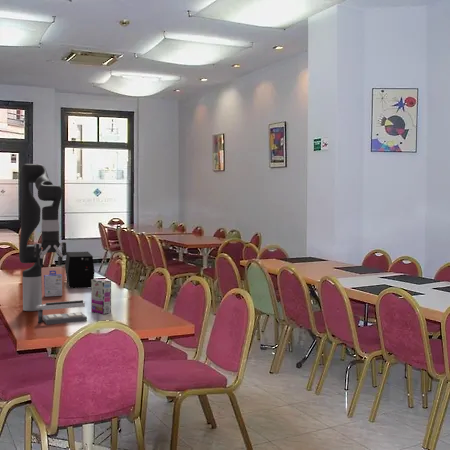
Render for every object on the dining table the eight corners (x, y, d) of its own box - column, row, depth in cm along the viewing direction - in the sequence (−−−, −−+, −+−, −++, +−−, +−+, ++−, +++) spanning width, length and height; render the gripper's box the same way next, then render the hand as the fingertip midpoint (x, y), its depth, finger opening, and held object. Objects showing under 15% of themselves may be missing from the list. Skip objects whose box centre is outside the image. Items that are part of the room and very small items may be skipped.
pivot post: (37, 322, 274) (37, 310, 274) (42, 321, 275) (42, 309, 275) (38, 323, 272) (38, 310, 272) (43, 322, 273) (42, 310, 273)
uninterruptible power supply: (89, 280, 408) (89, 251, 407) (94, 287, 376) (94, 256, 375) (65, 281, 403) (64, 252, 402) (68, 289, 371) (67, 257, 370)
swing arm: (37, 310, 271) (37, 304, 271) (36, 309, 274) (36, 303, 274) (84, 306, 281) (84, 300, 281) (83, 305, 284) (83, 299, 283)
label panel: (42, 319, 280) (42, 313, 280) (81, 316, 288) (81, 310, 288) (47, 324, 269) (47, 318, 269) (86, 321, 277) (86, 315, 277)
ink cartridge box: (61, 294, 351) (61, 269, 350) (62, 295, 346) (62, 271, 345) (43, 295, 347) (43, 270, 346) (45, 296, 342) (44, 271, 341)
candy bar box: (111, 313, 295) (111, 280, 294) (103, 315, 291) (103, 281, 291) (99, 310, 303) (99, 278, 302) (90, 311, 299) (90, 279, 298)
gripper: (62, 228, 273) (62, 263, 274) (31, 229, 264) (31, 266, 265) (68, 229, 267) (69, 265, 268) (37, 231, 258) (38, 268, 259)
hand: (50, 265), depth 267 cm, fingers open, 8 cm apart
